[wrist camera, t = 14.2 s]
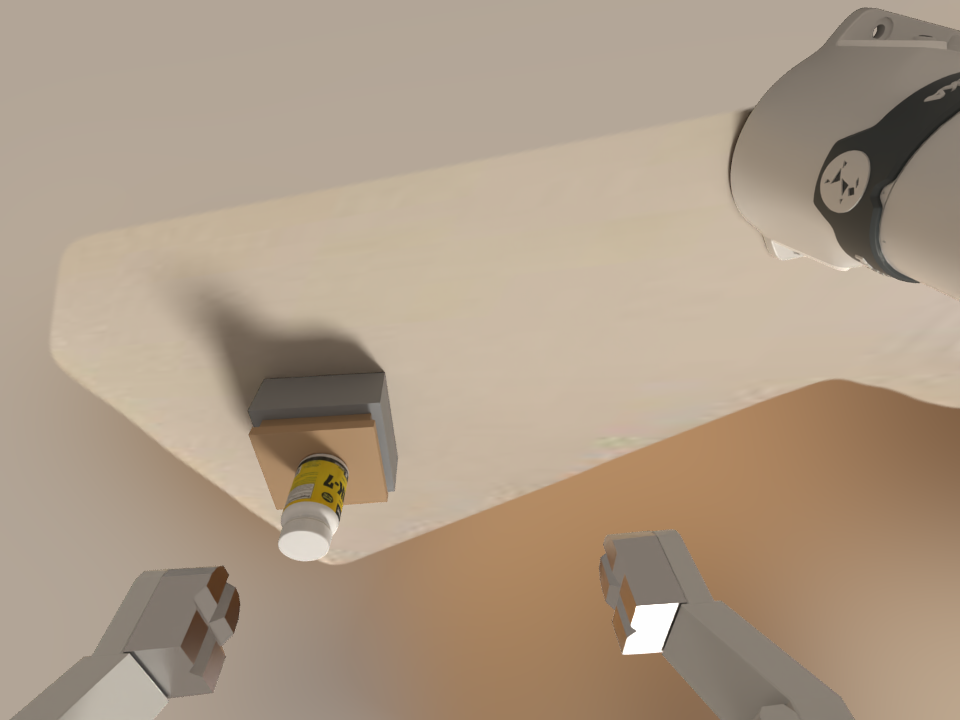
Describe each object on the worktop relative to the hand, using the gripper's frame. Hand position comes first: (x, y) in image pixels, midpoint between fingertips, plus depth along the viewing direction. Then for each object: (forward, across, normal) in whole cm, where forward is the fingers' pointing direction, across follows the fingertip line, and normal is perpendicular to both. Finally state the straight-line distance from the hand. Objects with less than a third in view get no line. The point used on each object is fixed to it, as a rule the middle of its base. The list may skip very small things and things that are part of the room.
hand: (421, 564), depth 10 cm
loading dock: (+34, +12, +24) cm, 43 cm away
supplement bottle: (+27, +12, +24) cm, 38 cm away
